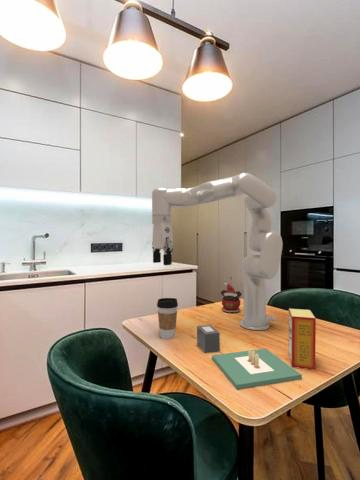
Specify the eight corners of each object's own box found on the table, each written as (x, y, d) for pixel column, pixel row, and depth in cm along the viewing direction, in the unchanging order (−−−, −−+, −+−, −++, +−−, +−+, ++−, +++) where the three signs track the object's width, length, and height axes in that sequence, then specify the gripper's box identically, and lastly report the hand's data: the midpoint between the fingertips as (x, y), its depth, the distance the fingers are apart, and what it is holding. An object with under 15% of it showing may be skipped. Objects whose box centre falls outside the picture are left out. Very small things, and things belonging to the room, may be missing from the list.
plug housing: (210, 341, 103) (210, 324, 102) (219, 351, 94) (219, 332, 94) (197, 343, 101) (197, 325, 101) (204, 352, 93) (204, 333, 93)
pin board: (266, 351, 94) (266, 337, 93) (301, 378, 76) (301, 360, 76) (211, 358, 89) (211, 343, 88) (236, 389, 71) (236, 369, 71)
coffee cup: (170, 342, 102) (170, 302, 102) (152, 337, 107) (152, 299, 107) (181, 334, 110) (181, 298, 109) (164, 331, 114) (164, 295, 114)
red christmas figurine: (242, 309, 146) (242, 276, 146) (239, 314, 137) (239, 279, 137) (223, 307, 150) (223, 275, 149) (219, 312, 141) (219, 278, 141)
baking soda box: (288, 353, 92) (288, 307, 92) (309, 356, 90) (309, 308, 90) (291, 367, 83) (292, 315, 83) (315, 370, 81) (315, 317, 81)
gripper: (180, 219, 100) (181, 265, 101) (161, 221, 115) (161, 261, 116) (162, 218, 97) (162, 266, 97) (144, 221, 112) (144, 262, 112)
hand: (162, 263), depth 106 cm, fingers open, 9 cm apart
